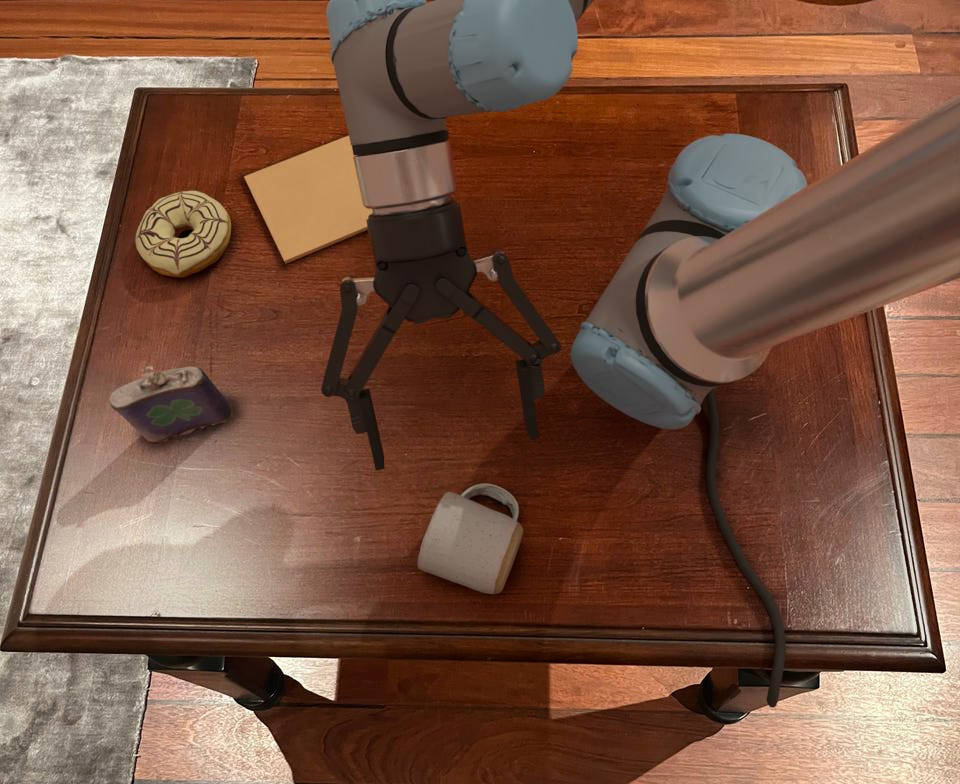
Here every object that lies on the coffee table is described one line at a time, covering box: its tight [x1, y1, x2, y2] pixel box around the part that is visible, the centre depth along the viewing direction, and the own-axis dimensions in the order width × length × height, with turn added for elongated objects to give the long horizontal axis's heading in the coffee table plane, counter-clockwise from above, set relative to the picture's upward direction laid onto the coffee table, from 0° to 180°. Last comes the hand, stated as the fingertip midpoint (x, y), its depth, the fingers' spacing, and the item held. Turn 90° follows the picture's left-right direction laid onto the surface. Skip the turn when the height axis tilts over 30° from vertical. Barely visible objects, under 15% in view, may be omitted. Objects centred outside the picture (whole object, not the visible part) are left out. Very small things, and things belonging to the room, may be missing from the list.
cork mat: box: [243, 135, 372, 265], centre depth 95 cm, size 14×14×1 cm
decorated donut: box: [135, 190, 232, 278], centre depth 92 cm, size 10×11×4 cm
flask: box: [108, 365, 234, 443], centre depth 79 cm, size 9×3×11 cm, turn 109°
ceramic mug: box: [417, 482, 524, 595], centre depth 74 cm, size 11×8×8 cm
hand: (456, 448), depth 70 cm, fingers open, 13 cm apart
